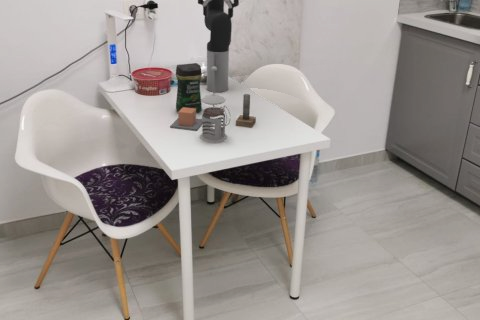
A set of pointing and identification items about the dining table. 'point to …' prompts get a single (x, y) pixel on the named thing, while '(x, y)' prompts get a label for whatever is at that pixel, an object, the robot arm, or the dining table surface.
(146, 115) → the dining table surface
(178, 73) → the coffee jar
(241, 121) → the post stand
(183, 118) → the orange cube
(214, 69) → the french press
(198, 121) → the mat
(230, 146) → the dining table surface
